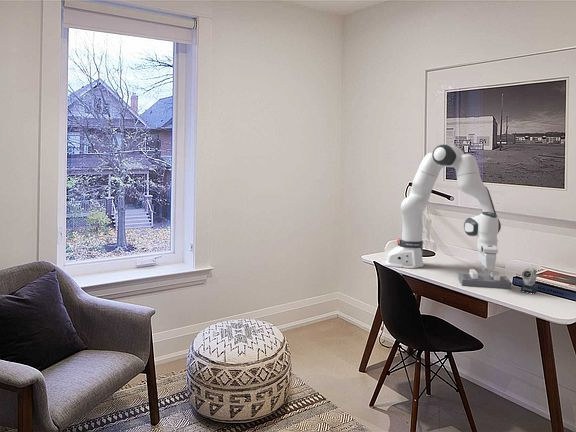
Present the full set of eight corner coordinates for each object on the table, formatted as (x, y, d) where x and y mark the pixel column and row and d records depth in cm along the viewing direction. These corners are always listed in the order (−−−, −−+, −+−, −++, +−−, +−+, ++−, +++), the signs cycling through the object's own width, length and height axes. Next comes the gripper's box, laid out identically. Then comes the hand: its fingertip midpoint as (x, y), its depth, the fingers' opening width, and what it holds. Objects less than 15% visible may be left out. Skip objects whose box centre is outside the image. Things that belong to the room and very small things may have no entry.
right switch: (494, 280, 233) (495, 274, 232) (490, 275, 241) (491, 270, 241) (500, 280, 232) (500, 275, 232) (495, 276, 241) (496, 270, 240)
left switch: (472, 278, 234) (472, 273, 234) (469, 274, 243) (469, 268, 243) (477, 279, 234) (478, 273, 234) (474, 274, 243) (474, 269, 242)
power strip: (462, 285, 234) (462, 279, 234) (458, 279, 246) (458, 273, 245) (511, 288, 230) (511, 282, 230) (504, 282, 242) (505, 276, 241)
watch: (518, 291, 226) (520, 268, 224) (527, 289, 231) (529, 266, 229) (530, 294, 221) (532, 271, 220) (539, 292, 226) (541, 268, 225)
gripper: (476, 241, 246) (474, 268, 248) (484, 249, 226) (482, 279, 228) (489, 242, 245) (487, 269, 247) (498, 250, 225) (496, 279, 227)
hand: (485, 274), depth 237 cm, fingers closed
